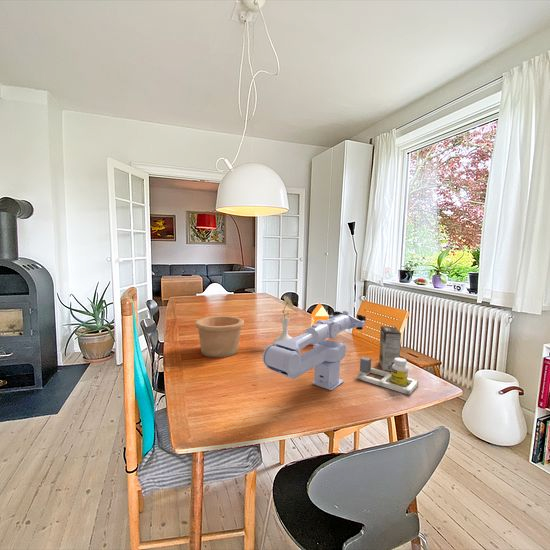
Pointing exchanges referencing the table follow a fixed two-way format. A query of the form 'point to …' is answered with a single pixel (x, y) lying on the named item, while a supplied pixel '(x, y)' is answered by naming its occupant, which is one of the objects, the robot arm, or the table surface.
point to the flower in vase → (285, 322)
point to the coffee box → (389, 347)
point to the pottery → (219, 335)
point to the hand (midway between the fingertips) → (355, 317)
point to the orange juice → (319, 314)
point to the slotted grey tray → (384, 382)
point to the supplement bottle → (399, 372)
